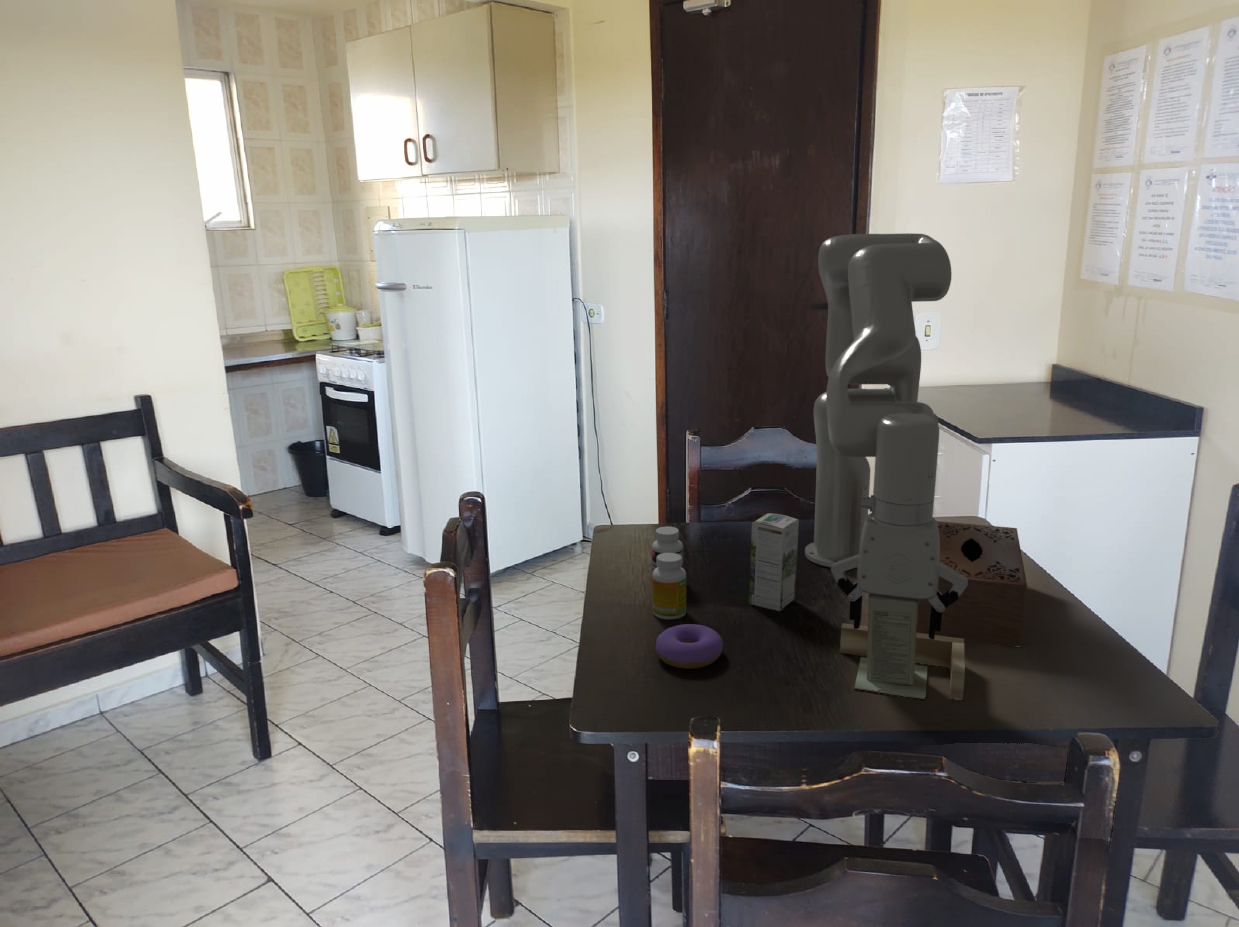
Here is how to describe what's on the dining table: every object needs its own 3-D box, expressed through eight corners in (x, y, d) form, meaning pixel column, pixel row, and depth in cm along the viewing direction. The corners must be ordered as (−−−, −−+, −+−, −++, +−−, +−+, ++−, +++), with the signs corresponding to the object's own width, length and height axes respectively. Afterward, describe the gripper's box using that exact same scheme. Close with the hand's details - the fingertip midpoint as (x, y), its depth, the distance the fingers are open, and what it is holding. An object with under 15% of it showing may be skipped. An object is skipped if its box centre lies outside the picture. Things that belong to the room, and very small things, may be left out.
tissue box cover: (1020, 649, 127) (1027, 585, 125) (915, 635, 132) (920, 573, 130) (1011, 583, 151) (1016, 528, 148) (922, 573, 156) (926, 520, 153)
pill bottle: (646, 581, 154) (645, 529, 151) (669, 574, 157) (668, 522, 155) (665, 591, 150) (665, 537, 147) (689, 583, 153) (689, 530, 150)
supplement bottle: (683, 621, 138) (683, 564, 136) (650, 619, 139) (649, 562, 137) (688, 607, 143) (688, 551, 141) (655, 605, 144) (655, 550, 142)
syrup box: (764, 592, 148) (766, 511, 144) (796, 600, 145) (799, 517, 141) (748, 604, 144) (750, 521, 140) (781, 613, 140) (784, 527, 137)
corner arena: (841, 648, 128) (842, 623, 127) (961, 664, 123) (963, 638, 122) (831, 686, 118) (832, 659, 117) (962, 706, 112) (965, 678, 111)
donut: (686, 678, 120) (681, 644, 120) (645, 666, 128) (640, 634, 127) (738, 657, 126) (734, 624, 125) (696, 646, 134) (692, 615, 133)
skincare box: (914, 671, 121) (920, 589, 117) (913, 687, 117) (919, 602, 113) (866, 665, 123) (870, 584, 119) (863, 680, 119) (868, 596, 115)
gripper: (830, 512, 113) (825, 633, 118) (974, 525, 107) (962, 652, 112) (837, 495, 120) (832, 609, 124) (973, 506, 114) (962, 626, 118)
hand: (893, 629), depth 118 cm, fingers open, 9 cm apart
